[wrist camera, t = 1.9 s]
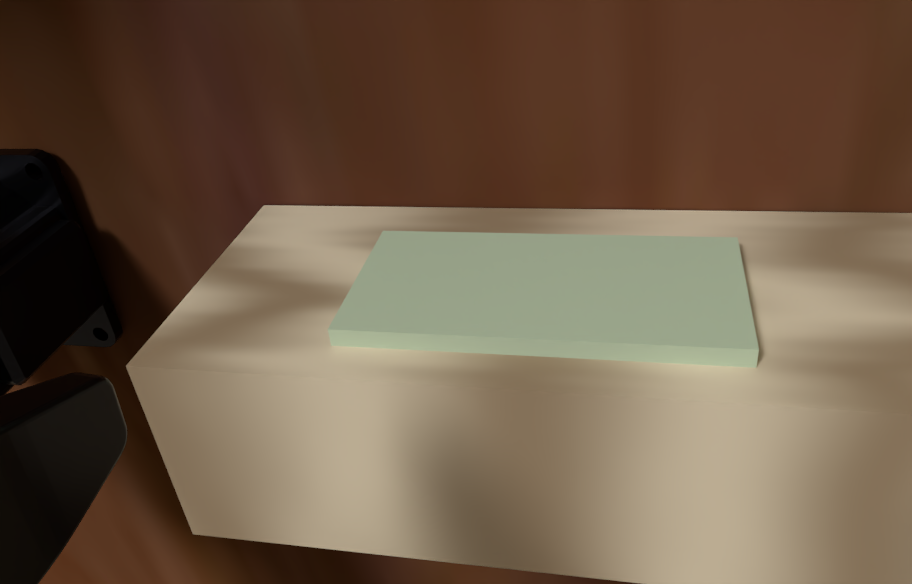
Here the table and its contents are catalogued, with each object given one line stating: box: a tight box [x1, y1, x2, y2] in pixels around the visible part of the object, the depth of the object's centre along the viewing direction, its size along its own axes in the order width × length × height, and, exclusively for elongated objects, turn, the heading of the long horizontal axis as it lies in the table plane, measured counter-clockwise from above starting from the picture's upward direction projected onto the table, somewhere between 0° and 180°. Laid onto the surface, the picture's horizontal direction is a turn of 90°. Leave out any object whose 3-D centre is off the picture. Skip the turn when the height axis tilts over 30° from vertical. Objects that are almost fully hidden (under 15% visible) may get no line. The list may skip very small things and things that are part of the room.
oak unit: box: [126, 205, 912, 584], centre depth 18 cm, size 16×5×7 cm, turn 94°
